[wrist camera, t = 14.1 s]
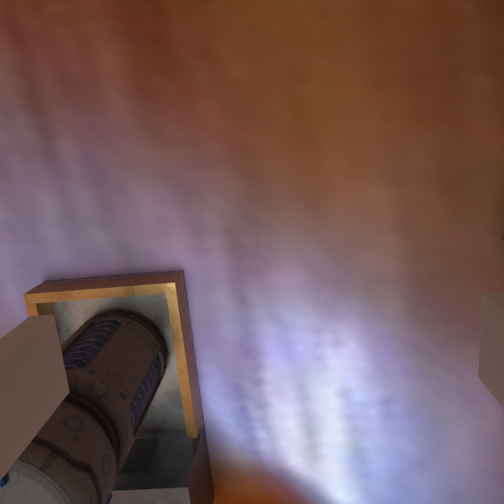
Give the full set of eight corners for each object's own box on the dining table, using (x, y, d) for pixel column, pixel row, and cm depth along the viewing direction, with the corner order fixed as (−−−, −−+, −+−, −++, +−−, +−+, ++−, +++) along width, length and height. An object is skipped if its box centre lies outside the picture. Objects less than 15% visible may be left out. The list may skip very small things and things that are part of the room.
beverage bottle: (85, 414, 51) (-85, 664, 27) (68, 302, 48) (-140, 471, 24) (175, 413, 51) (85, 668, 26) (165, 300, 47) (52, 471, 23)
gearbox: (44, 281, 49) (-28, 326, 37) (183, 270, 48) (154, 313, 36) (91, 501, 55) (42, 598, 44) (213, 496, 54) (197, 593, 43)
